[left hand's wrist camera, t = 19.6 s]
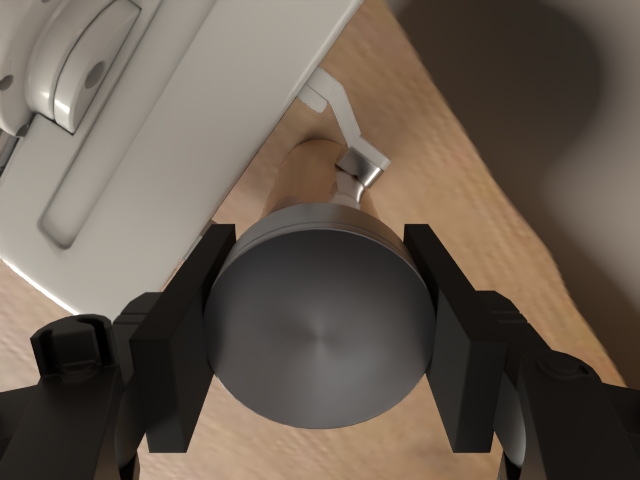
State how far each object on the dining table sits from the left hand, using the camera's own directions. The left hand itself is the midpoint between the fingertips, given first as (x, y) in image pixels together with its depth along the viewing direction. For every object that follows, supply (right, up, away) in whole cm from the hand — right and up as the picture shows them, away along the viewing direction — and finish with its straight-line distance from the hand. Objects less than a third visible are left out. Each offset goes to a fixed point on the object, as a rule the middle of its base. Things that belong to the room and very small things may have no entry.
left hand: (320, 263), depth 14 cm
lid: (0, -1, -4) cm, 4 cm away
